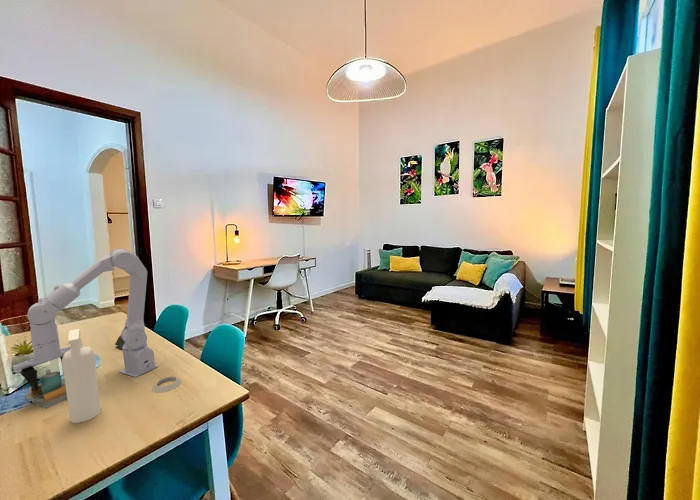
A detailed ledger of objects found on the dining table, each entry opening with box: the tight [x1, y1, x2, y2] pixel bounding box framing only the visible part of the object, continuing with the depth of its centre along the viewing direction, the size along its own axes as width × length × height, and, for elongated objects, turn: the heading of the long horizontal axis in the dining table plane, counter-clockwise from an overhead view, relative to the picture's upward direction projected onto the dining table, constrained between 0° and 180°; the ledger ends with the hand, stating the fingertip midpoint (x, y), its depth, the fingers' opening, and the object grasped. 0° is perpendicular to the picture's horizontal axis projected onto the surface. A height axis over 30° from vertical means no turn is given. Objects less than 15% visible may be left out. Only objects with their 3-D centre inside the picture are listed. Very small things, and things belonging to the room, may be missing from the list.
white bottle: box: [61, 328, 102, 424], centre depth 83 cm, size 7×12×25 cm, turn 38°
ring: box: [151, 376, 183, 394], centre depth 98 cm, size 8×8×2 cm
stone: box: [114, 335, 125, 351], centre depth 130 cm, size 7×13×5 cm, turn 25°
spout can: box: [39, 369, 62, 395], centre depth 93 cm, size 4×4×6 cm
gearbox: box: [24, 378, 67, 409], centre depth 94 cm, size 12×11×4 cm
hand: (51, 383), depth 93 cm, fingers open, 7 cm apart
